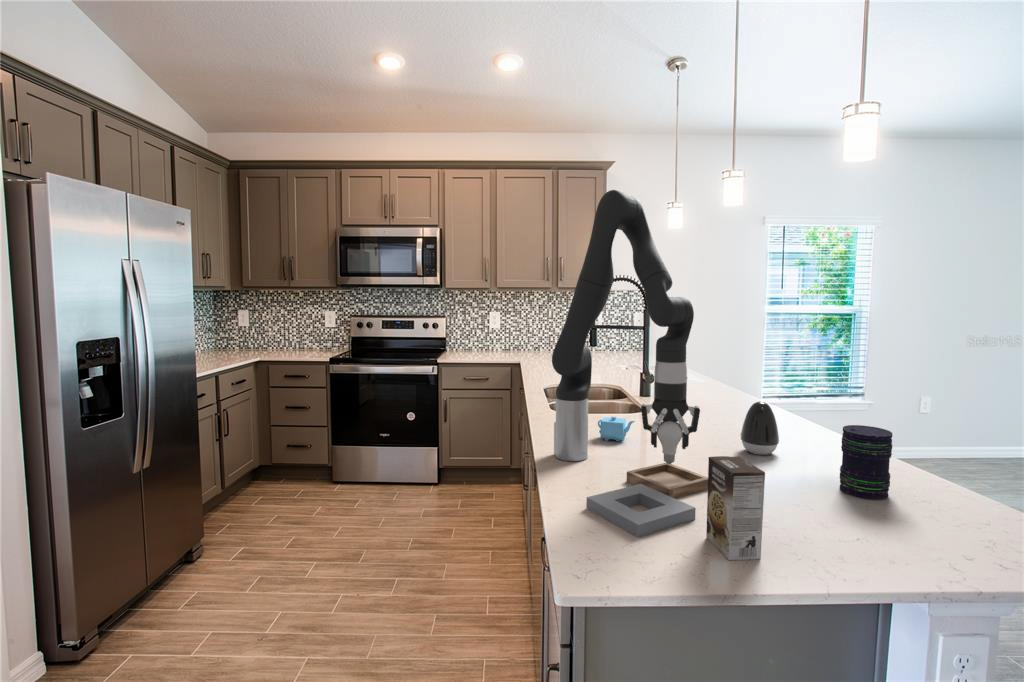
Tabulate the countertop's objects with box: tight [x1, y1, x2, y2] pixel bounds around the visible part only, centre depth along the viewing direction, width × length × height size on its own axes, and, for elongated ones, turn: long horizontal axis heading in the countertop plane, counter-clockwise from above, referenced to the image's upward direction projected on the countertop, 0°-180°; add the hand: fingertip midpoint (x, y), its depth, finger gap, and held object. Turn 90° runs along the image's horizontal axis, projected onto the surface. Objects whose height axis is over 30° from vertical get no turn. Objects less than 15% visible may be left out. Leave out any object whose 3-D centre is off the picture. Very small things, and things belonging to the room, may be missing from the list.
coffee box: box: [706, 455, 766, 561], centre depth 96 cm, size 9×6×16 cm
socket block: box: [586, 484, 696, 538], centre depth 112 cm, size 16×16×2 cm
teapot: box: [597, 415, 636, 442], centre depth 169 cm, size 12×6×8 cm, turn 69°
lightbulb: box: [656, 421, 683, 464], centre depth 128 cm, size 6×6×11 cm
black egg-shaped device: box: [740, 401, 780, 456], centre depth 154 cm, size 10×10×15 cm
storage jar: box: [839, 424, 893, 501], centre depth 123 cm, size 10×10×15 cm
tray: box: [626, 462, 708, 499], centre depth 129 cm, size 14×14×2 cm
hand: (669, 447), depth 128 cm, fingers closed on lightbulb, 6 cm apart
